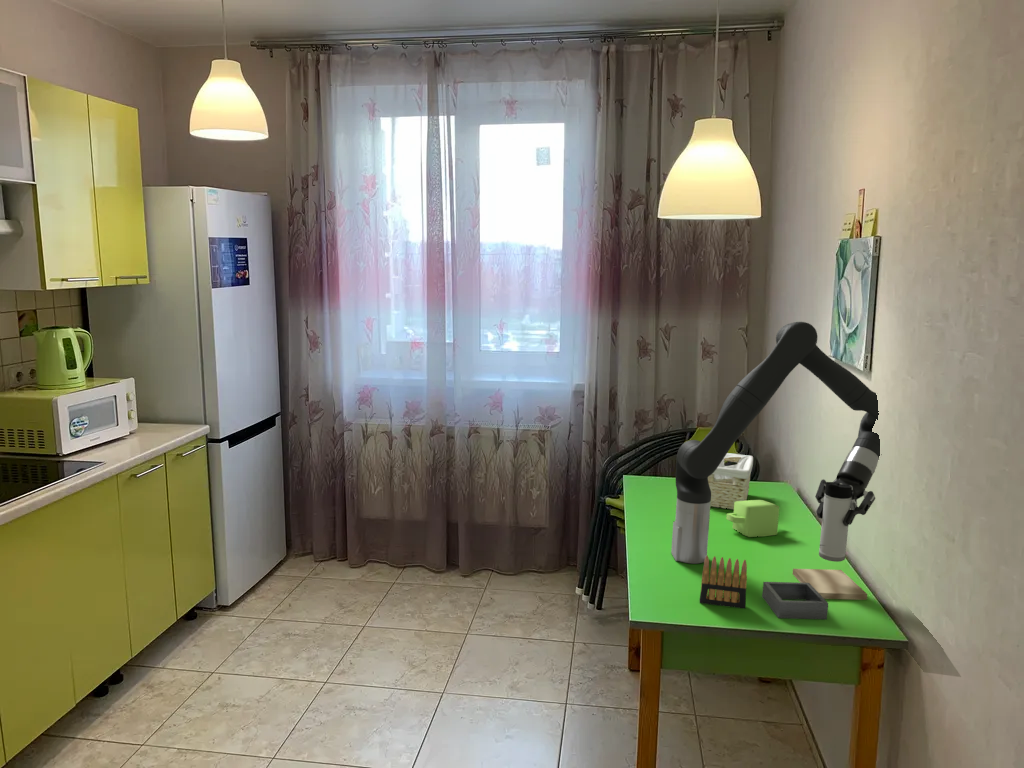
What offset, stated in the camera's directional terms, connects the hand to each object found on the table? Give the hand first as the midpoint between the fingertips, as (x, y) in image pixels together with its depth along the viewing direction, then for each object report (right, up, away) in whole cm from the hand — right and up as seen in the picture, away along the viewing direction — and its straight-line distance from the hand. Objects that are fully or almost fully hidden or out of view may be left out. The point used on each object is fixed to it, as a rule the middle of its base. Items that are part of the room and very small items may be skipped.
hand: (832, 520), depth 190 cm
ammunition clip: (-30, -19, -8) cm, 37 cm away
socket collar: (-13, -19, -9) cm, 25 cm away
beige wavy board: (+1, -18, +4) cm, 18 cm away
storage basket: (-6, -7, +75) cm, 75 cm away
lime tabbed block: (-5, -12, +44) cm, 46 cm away
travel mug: (+1, -10, +3) cm, 11 cm away
